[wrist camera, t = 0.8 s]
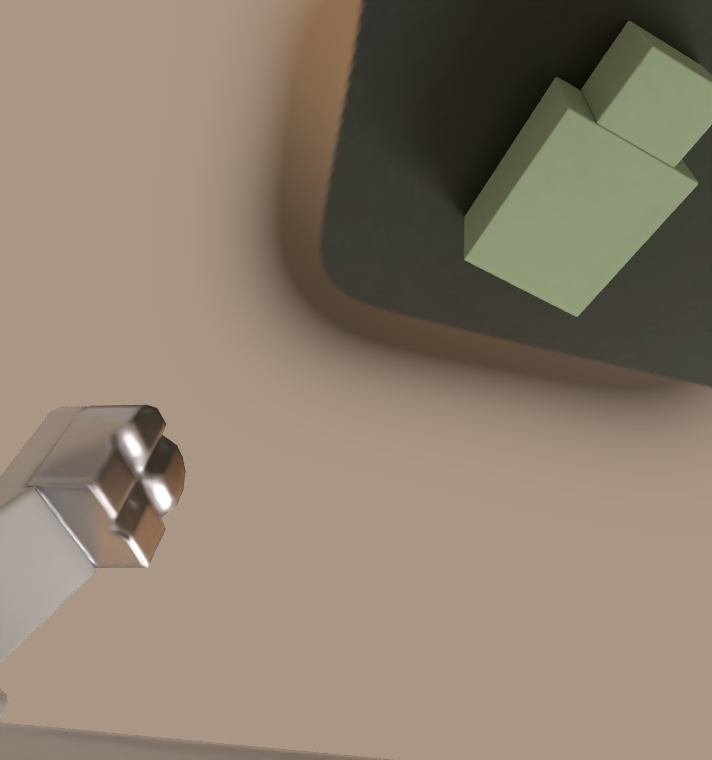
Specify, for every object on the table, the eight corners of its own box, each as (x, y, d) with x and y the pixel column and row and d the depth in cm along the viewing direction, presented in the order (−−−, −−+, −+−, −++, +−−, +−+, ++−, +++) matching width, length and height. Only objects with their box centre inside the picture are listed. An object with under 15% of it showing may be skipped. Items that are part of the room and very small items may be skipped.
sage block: (464, 217, 25) (463, 260, 22) (602, 3, 20) (623, 27, 17) (566, 270, 26) (577, 317, 23) (725, 80, 21) (762, 113, 18)
